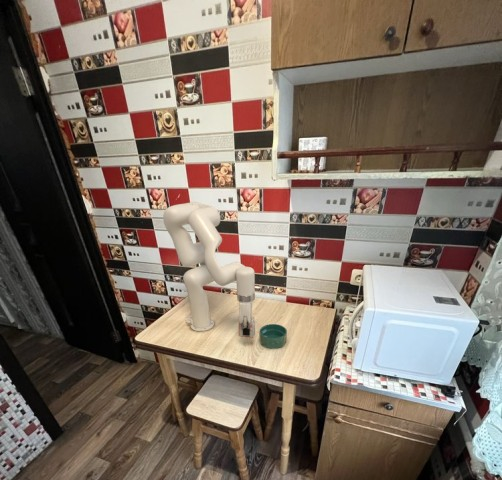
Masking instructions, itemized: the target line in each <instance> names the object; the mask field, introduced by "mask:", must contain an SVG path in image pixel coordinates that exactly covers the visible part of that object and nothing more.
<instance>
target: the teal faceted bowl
mask: <svg viewBox="0 0 502 480" xmlns="http://www.w3.org/2000/svg"><path fill="white" fill-rule="evenodd" d="M258 333H259V335H258V337H259V339H258V340H259V343H260V345H261V346H262V347H265V348H267V349H280V348H283V347H284V346H285V345H286V344H287V341H288V339H287V337H288V330H287V328H286V327H285V326H284V325H280V324H277V323H269V324H265V325H263V326H261V327H260V328H259V332H258Z"/></svg>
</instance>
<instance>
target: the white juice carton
mask: <svg viewBox="0 0 502 480" xmlns="http://www.w3.org/2000/svg"><path fill="white" fill-rule="evenodd" d="M247 322H248V321H247ZM247 325H248V324H247ZM249 328H250V335H249V336H246V335H243V322H242V323H239V322H238V337H240V338H248V339H254V338H255V335H256V321H255V317H253V316H251V322H250V323H249Z"/></svg>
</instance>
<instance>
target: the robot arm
mask: <svg viewBox="0 0 502 480" xmlns="http://www.w3.org/2000/svg"><path fill="white" fill-rule="evenodd" d="M162 216H163V217H162V219H163V224H164V227H165V229H166V231H167V233H168V235H169V236H170V238H171V240H172V242H173V246H174V248H175V252H176V255H177V257H178V260H179V262H180V264H181V265H182V266H183V267H184V268H190V267H193V266H196V265H199V266H196V267H194V268H191V269H188V270H187V271H186V272H184V274H183V276H182V280H183V283H184V286H185V289H186V293H187V297H188V302H189V307H190V313H191V317H185V318H184V321H185V323H186V324H190V329H191V330H193V331H196V332H206V331H209V330H211V329H213V327H214V326H215V322H214V320H213V319H212V318H211V313H210V305H209V297H208V293H207V291H205V289H204V288H203V287H205V286H206V285H207V286H208V285H209V284H211V283H213V282H215V283H216V284H217V285H219V286H220V287H224V286H227V285H230V284H231V283H234V282H236V299H237V300H236V301H237V302H238V303H239V304H238V305H239V307H238V314H239V316H238V324H239V323H242V322H243V335H246V336H249V335H250V328H249V323H250V322H251V317H253V316H252V315H253V303H254V302H255V300H256V285H255V283H256V280H255V279H256V272H255V269H254V268H252V267H250V266H245V265H244V264H243V263H240V262H238V261H233V262H230V263H228V264H225V265H223V266H221V265H220V264H219V263H218V261H217V257H216V250H218V248H219V247H220V245H221V244H222V242H223V237H222V235H221V234H220V232H219V231H218V230H217V228H216V227H218V226H219V225H220V223H221V215H220V212H219V211H218V209H216V207H214V206H212V205H209V204H205V203H201V202H197V201H191V202H186V203H179V204H174V205H171V206H168V207H167V208H166V209H165V210H164V212H163V215H162ZM186 225H189V227H190V228H191V229H192V231H193V232H194V234H195V236H196V237H197V239H198V240H199V242H193V239H192V236H191V234H190V232H189V231H188V230H187V229H186V228H185V227H184V226H186ZM247 321H248V322H247ZM247 324H248V325H247Z"/></svg>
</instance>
